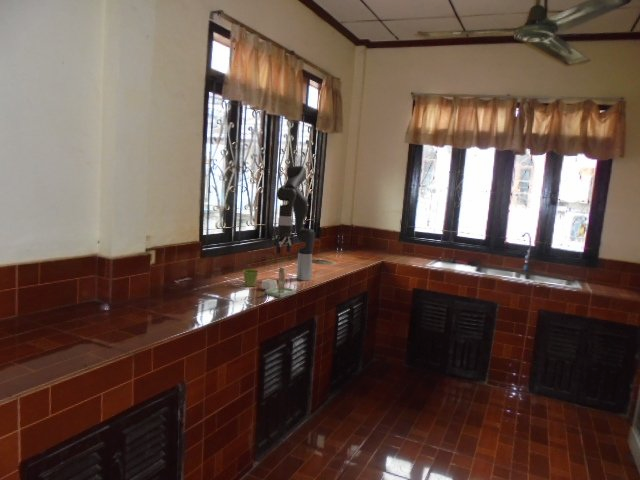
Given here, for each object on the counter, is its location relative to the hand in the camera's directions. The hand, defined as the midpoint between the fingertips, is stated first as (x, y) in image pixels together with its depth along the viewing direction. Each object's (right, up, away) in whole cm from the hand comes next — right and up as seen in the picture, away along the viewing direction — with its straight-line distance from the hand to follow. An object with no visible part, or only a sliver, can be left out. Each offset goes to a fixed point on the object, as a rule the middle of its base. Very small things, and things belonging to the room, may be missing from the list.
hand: (283, 252), depth 259 cm
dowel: (-2, -22, +3) cm, 23 cm away
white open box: (-9, -21, +12) cm, 26 cm away
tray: (-2, -23, +3) cm, 23 cm away
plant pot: (-21, -20, +18) cm, 34 cm away
